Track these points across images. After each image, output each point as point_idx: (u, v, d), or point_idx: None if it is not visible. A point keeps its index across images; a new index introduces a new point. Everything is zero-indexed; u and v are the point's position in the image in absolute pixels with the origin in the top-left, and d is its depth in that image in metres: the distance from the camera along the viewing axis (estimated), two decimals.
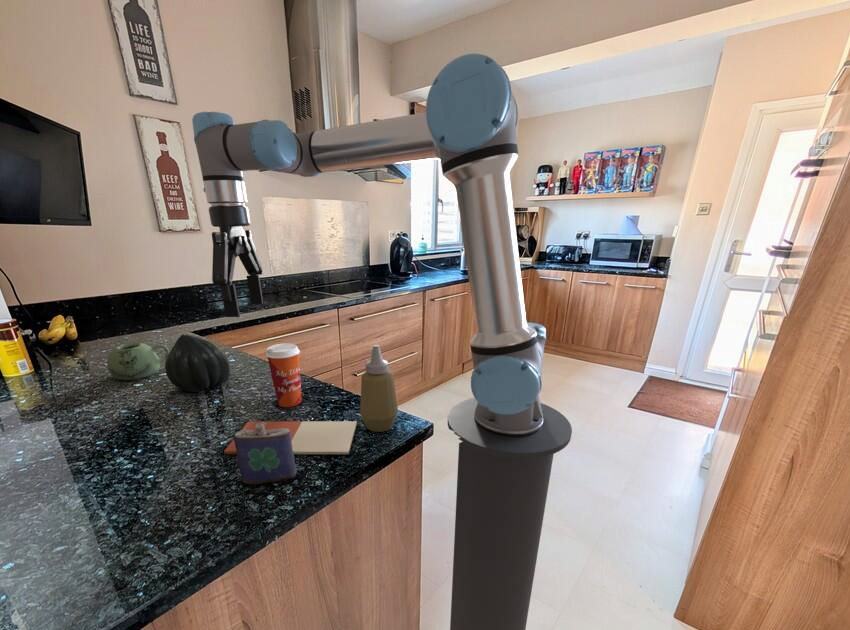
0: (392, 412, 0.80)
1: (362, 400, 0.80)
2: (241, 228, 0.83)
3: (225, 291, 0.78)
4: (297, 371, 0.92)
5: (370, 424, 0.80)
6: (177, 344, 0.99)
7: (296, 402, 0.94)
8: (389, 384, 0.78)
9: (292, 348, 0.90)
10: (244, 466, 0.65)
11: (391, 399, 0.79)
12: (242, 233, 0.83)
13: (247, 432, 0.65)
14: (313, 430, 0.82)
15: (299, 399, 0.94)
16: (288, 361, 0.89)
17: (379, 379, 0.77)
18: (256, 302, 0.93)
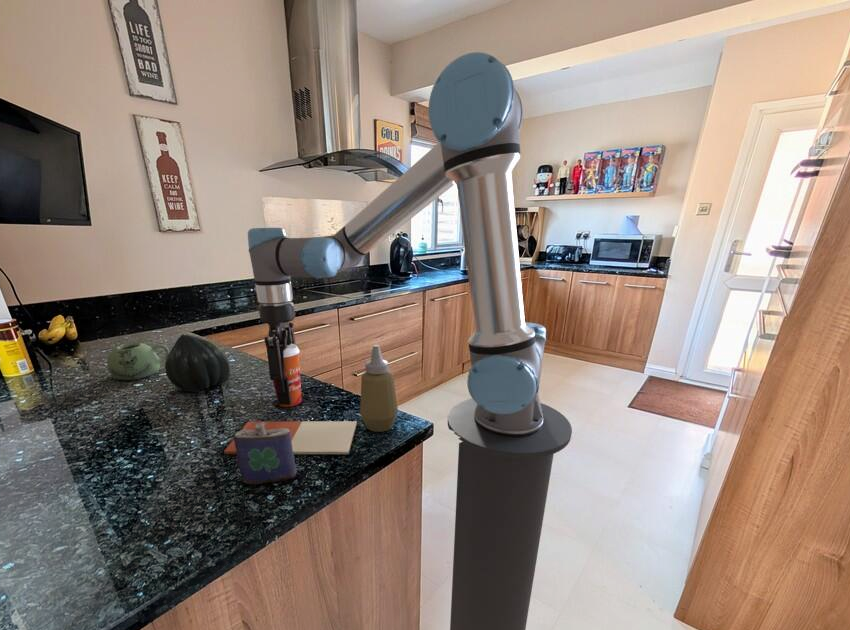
0: (392, 412, 0.80)
1: (362, 400, 0.80)
2: None
3: (280, 385, 0.89)
4: (297, 371, 0.92)
5: (370, 424, 0.80)
6: (177, 344, 0.99)
7: (296, 402, 0.94)
8: (389, 384, 0.78)
9: (292, 348, 0.90)
10: (244, 466, 0.65)
11: (391, 399, 0.79)
12: (287, 323, 0.90)
13: (247, 432, 0.65)
14: (313, 430, 0.82)
15: (299, 399, 0.94)
16: (288, 360, 0.89)
17: (379, 379, 0.77)
18: None
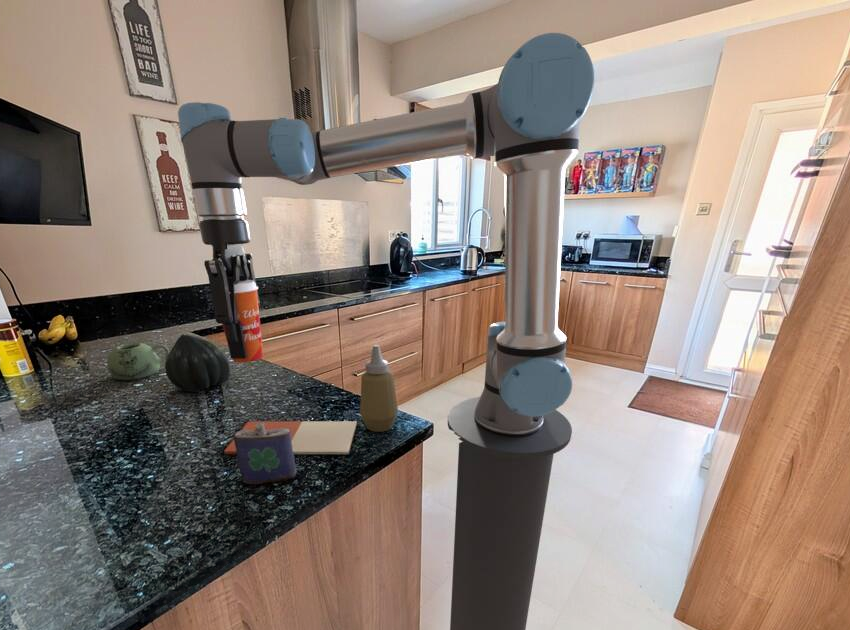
0: (392, 412, 0.80)
1: (362, 400, 0.80)
2: (239, 245, 0.68)
3: (230, 330, 0.67)
4: (255, 314, 0.70)
5: (370, 424, 0.80)
6: (177, 344, 0.99)
7: (255, 356, 0.72)
8: (389, 384, 0.78)
9: (247, 282, 0.68)
10: (244, 466, 0.65)
11: (391, 399, 0.79)
12: (241, 251, 0.69)
13: (247, 432, 0.65)
14: (313, 430, 0.82)
15: (259, 353, 0.73)
16: (241, 298, 0.67)
17: (379, 379, 0.77)
18: None
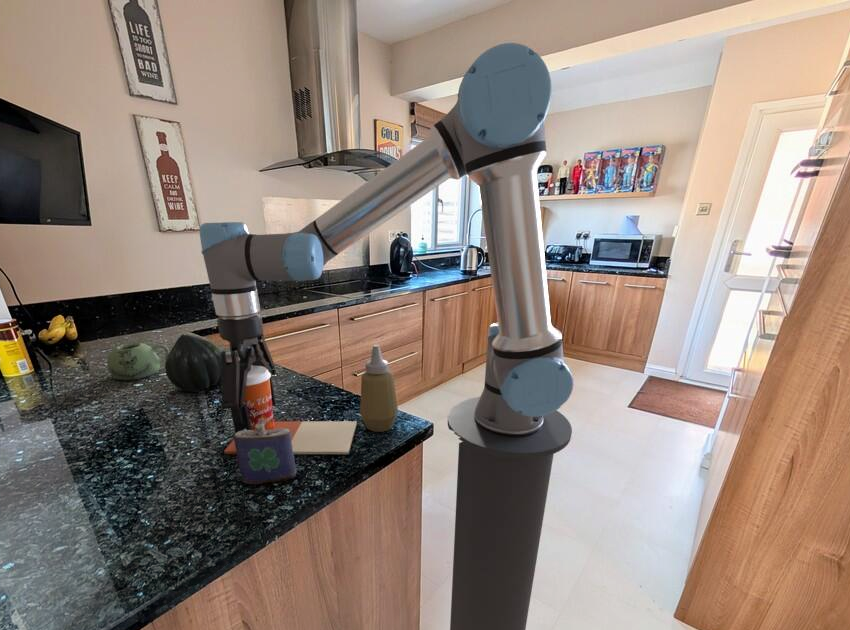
0: (392, 412, 0.80)
1: (362, 400, 0.80)
2: None
3: (236, 414, 0.69)
4: (268, 400, 0.76)
5: (370, 424, 0.80)
6: (177, 344, 0.99)
7: None
8: (389, 384, 0.78)
9: (261, 373, 0.74)
10: (244, 466, 0.65)
11: (391, 399, 0.79)
12: (254, 339, 0.74)
13: (247, 432, 0.65)
14: (313, 430, 0.82)
15: None
16: (255, 388, 0.73)
17: (379, 379, 0.77)
18: None
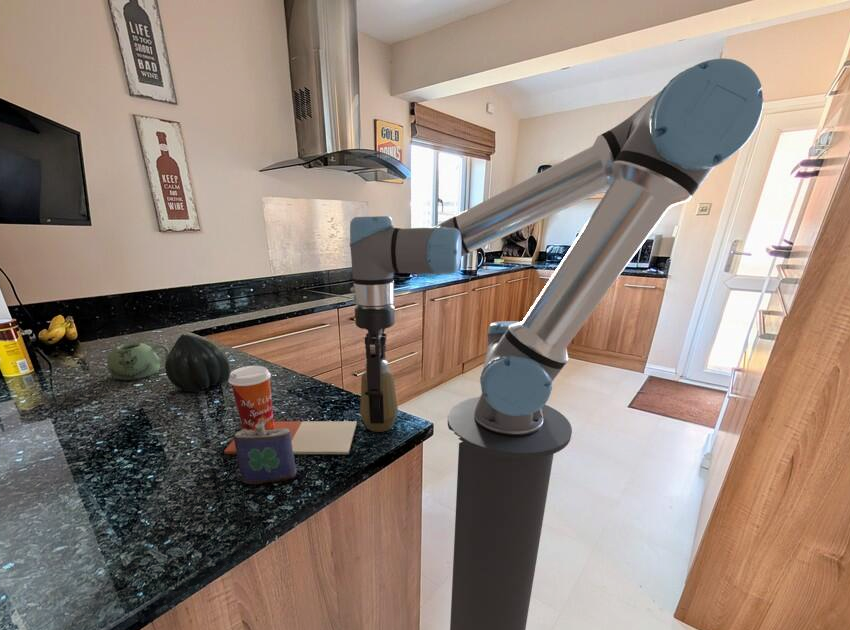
0: (392, 412, 0.80)
1: (362, 400, 0.80)
2: None
3: (376, 401, 0.75)
4: (268, 400, 0.76)
5: (370, 424, 0.80)
6: (177, 344, 0.99)
7: None
8: (389, 384, 0.78)
9: (261, 373, 0.74)
10: (244, 466, 0.65)
11: (391, 399, 0.79)
12: None
13: (247, 432, 0.65)
14: (313, 430, 0.82)
15: None
16: (255, 388, 0.73)
17: None
18: None
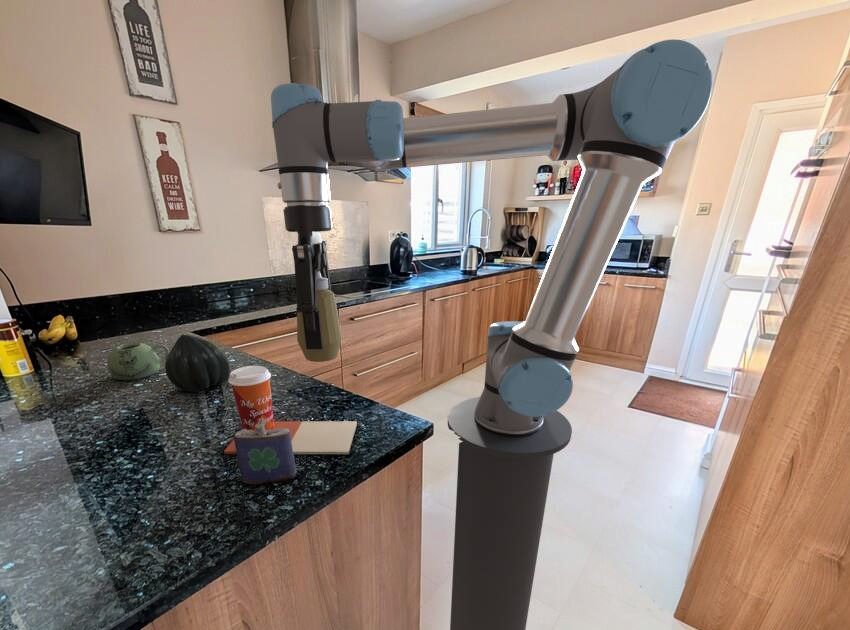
0: (332, 337, 0.69)
1: (298, 323, 0.69)
2: (319, 233, 0.67)
3: (309, 319, 0.64)
4: (268, 400, 0.76)
5: (308, 352, 0.70)
6: (177, 344, 0.99)
7: None
8: (327, 303, 0.67)
9: (261, 373, 0.74)
10: (244, 466, 0.65)
11: (331, 321, 0.68)
12: (319, 239, 0.67)
13: (247, 432, 0.65)
14: (313, 430, 0.82)
15: None
16: (255, 388, 0.73)
17: None
18: None
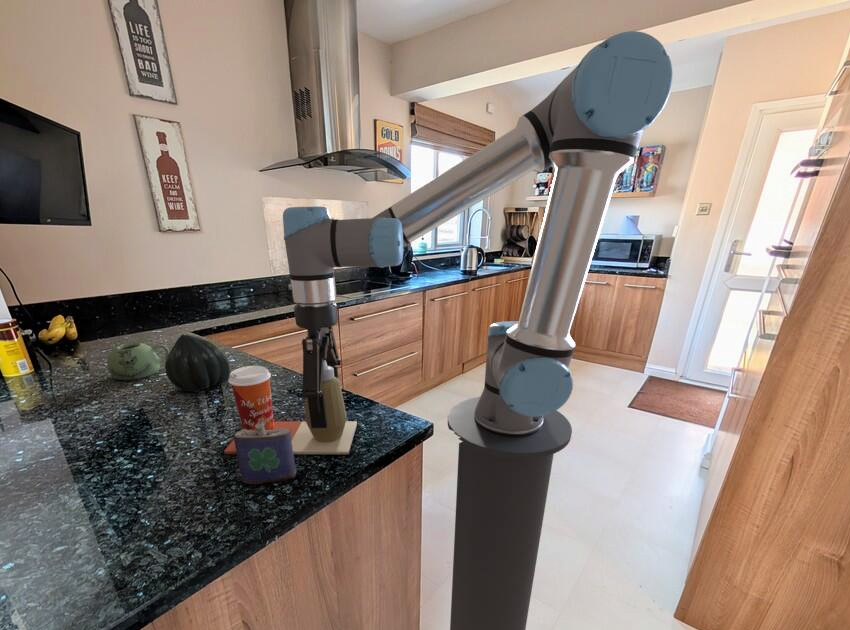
0: (338, 421, 0.75)
1: (306, 409, 0.75)
2: None
3: (314, 403, 0.68)
4: (268, 400, 0.76)
5: (315, 434, 0.76)
6: (177, 344, 0.99)
7: None
8: (333, 392, 0.73)
9: (261, 373, 0.74)
10: (244, 466, 0.65)
11: (336, 407, 0.74)
12: (326, 328, 0.73)
13: (247, 432, 0.65)
14: None
15: None
16: (255, 388, 0.73)
17: (322, 386, 0.72)
18: None
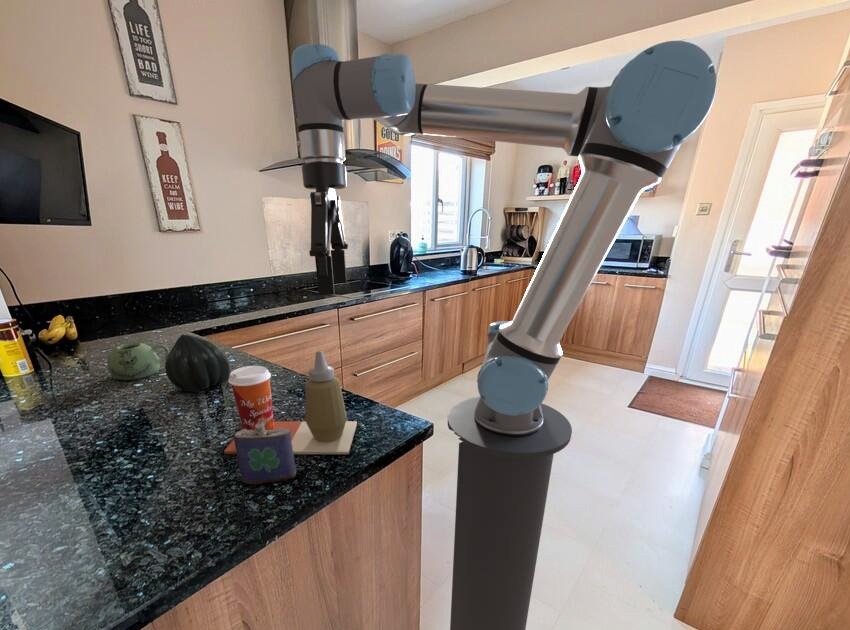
0: (338, 421, 0.75)
1: (306, 409, 0.75)
2: (334, 192, 0.71)
3: (322, 263, 0.66)
4: (268, 400, 0.76)
5: (315, 434, 0.76)
6: (177, 344, 0.99)
7: None
8: (333, 392, 0.73)
9: (261, 373, 0.74)
10: (244, 466, 0.65)
11: (336, 407, 0.74)
12: (334, 197, 0.72)
13: (247, 432, 0.65)
14: None
15: None
16: (255, 388, 0.73)
17: (322, 386, 0.72)
18: (339, 281, 0.81)
